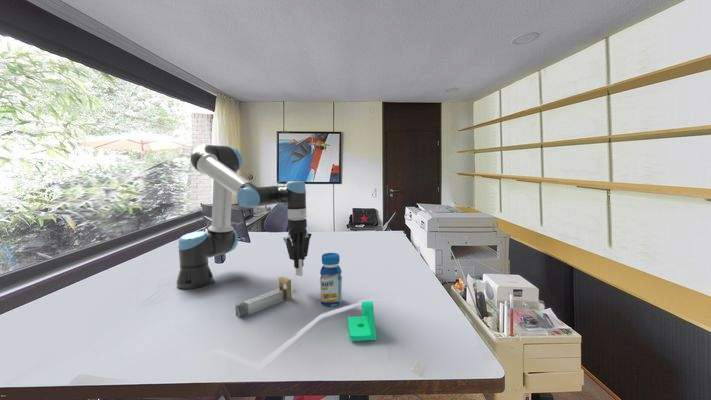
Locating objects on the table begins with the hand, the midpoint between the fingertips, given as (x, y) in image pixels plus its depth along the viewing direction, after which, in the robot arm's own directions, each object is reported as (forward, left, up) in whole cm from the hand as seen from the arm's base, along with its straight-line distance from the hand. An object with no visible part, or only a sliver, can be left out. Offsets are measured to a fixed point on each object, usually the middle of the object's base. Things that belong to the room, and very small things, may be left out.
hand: (299, 274), depth 122 cm
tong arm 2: (+1, -18, -8) cm, 20 cm away
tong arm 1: (-1, -18, -8) cm, 20 cm away
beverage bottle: (+17, +2, -9) cm, 19 cm away
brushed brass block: (0, -7, -8) cm, 10 cm away
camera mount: (+38, -6, -9) cm, 39 cm away
